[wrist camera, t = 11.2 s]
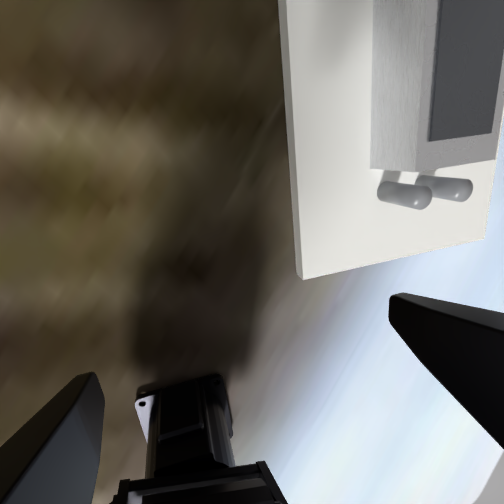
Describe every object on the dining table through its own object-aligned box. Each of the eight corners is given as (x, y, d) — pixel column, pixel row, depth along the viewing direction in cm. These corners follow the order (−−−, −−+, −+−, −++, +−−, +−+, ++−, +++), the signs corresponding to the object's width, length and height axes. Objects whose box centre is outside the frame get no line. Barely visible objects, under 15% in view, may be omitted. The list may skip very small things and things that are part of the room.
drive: (438, 158, 21) (497, 159, 17) (369, 168, 20) (416, 172, 16) (455, -18, 18) (533, -65, 14) (373, -18, 17) (434, -67, 13)
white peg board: (470, 235, 26) (528, 251, 22) (296, 273, 23) (325, 301, 18) (526, -157, 18) (635, -251, 13) (265, -186, 14) (304, -322, 10)
